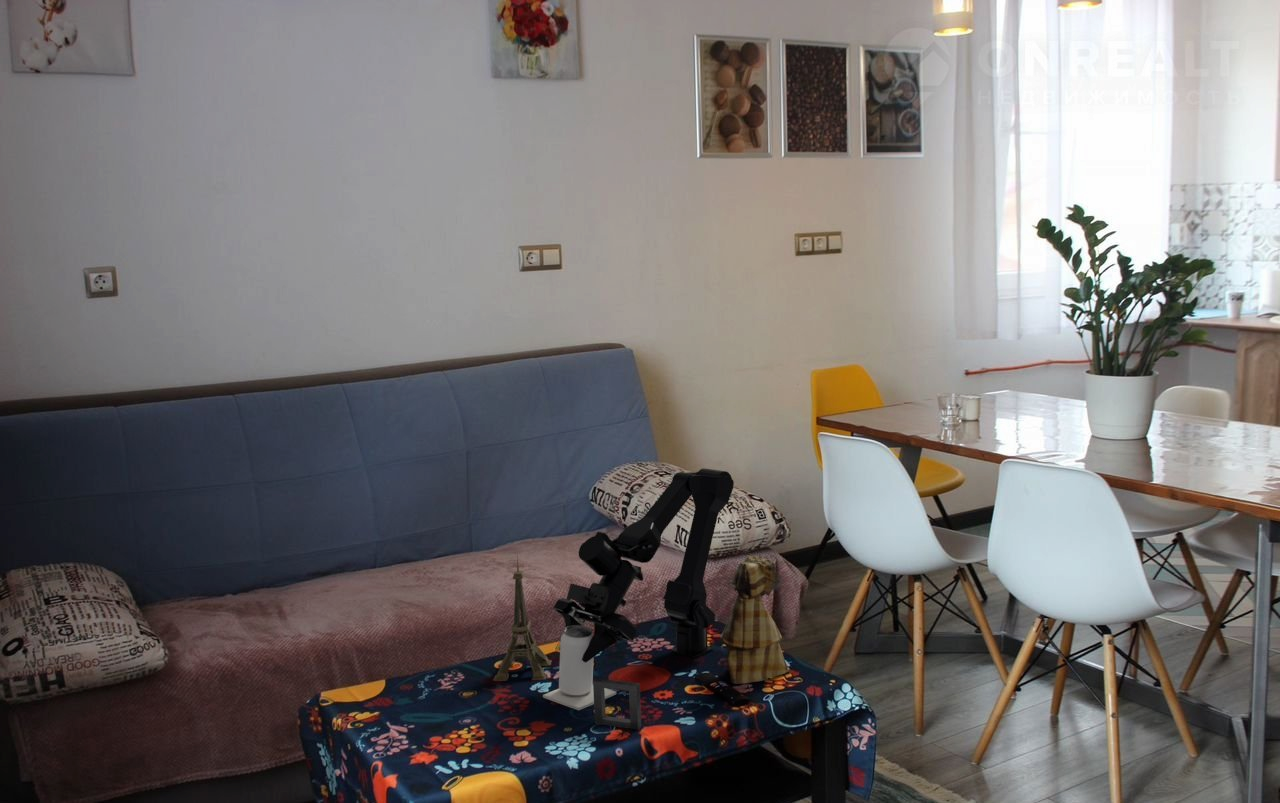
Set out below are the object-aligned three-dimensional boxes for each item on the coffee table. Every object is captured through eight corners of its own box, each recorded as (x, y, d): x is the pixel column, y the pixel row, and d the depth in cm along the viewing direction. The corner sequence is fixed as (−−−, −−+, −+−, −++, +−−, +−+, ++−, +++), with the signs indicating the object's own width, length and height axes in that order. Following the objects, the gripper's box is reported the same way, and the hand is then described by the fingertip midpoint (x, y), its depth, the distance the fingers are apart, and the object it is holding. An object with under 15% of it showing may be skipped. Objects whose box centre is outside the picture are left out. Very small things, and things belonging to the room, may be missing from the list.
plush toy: (697, 662, 233) (712, 550, 226) (752, 650, 240) (768, 541, 233) (736, 697, 222) (754, 582, 214) (792, 684, 229) (811, 571, 221)
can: (598, 687, 222) (601, 629, 220) (580, 700, 217) (582, 641, 214) (570, 678, 226) (573, 621, 223) (551, 690, 220) (554, 632, 217)
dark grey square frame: (598, 720, 208) (596, 678, 207) (641, 726, 205) (639, 683, 204) (594, 723, 207) (593, 681, 206) (638, 729, 204) (636, 686, 203)
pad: (580, 682, 227) (580, 679, 227) (616, 694, 220) (616, 691, 220) (543, 697, 220) (542, 695, 220) (578, 710, 213) (578, 707, 213)
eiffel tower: (501, 662, 240) (495, 546, 237) (551, 661, 240) (546, 545, 237) (493, 681, 230) (486, 560, 227) (545, 680, 229) (539, 558, 226)
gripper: (557, 558, 226) (517, 626, 220) (623, 574, 213) (582, 648, 207) (589, 587, 233) (550, 654, 227) (654, 605, 220) (615, 677, 214)
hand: (573, 657), depth 218 cm, fingers closed on can, 6 cm apart
